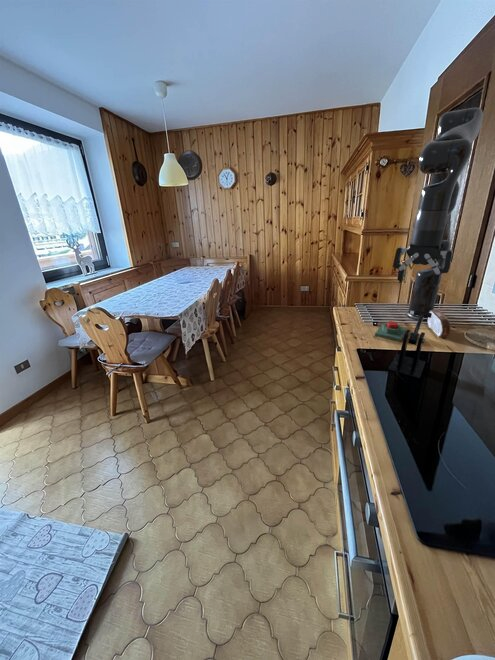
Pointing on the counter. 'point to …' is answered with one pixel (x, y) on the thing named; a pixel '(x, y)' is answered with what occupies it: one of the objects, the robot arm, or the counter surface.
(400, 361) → the bracket
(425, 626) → the counter surface
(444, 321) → the white and brown slab
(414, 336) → the lever
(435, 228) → the robot arm
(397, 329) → the button box
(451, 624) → the counter surface
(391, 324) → the button
